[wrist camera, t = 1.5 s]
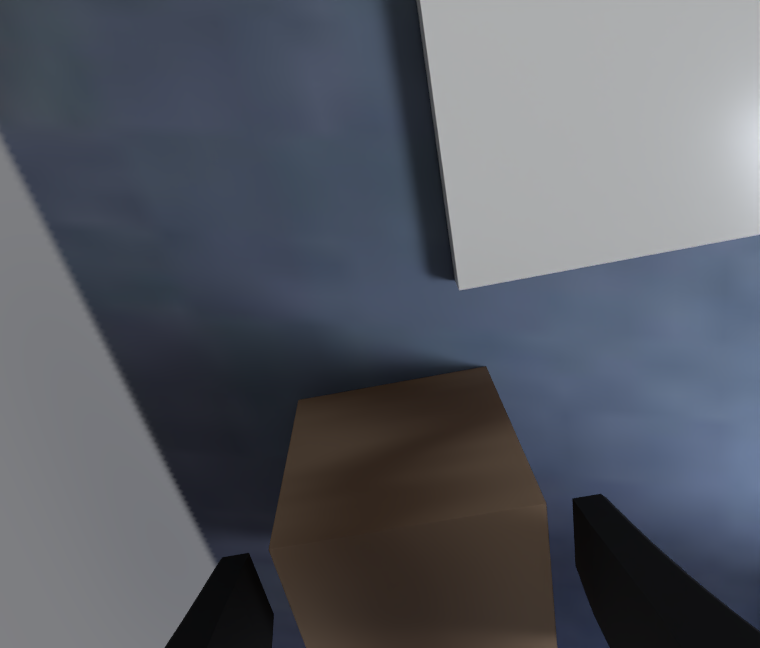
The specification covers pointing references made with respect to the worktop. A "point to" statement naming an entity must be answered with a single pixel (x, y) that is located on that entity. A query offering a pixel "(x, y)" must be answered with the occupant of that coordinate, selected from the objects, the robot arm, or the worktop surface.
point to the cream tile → (591, 129)
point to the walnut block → (413, 521)
